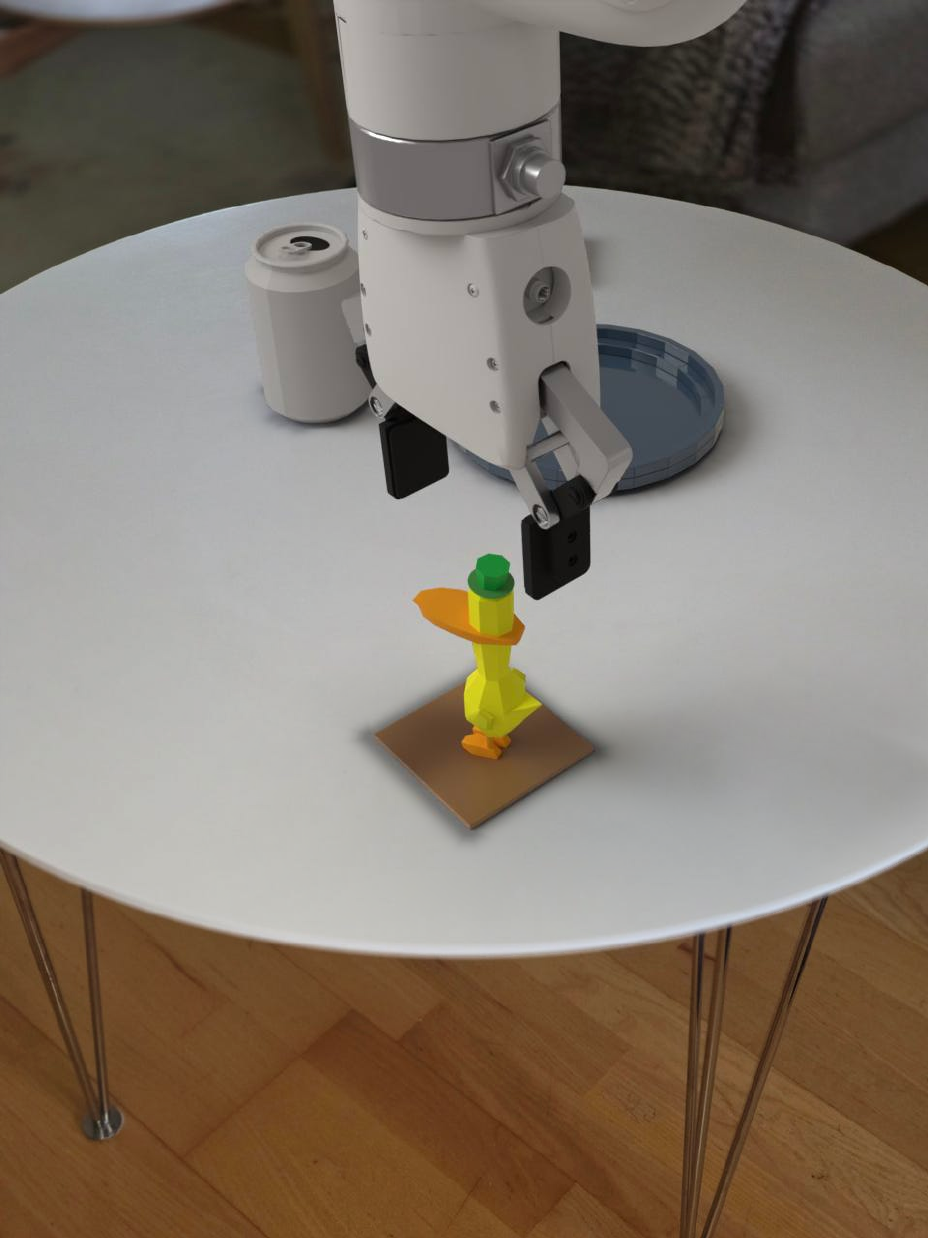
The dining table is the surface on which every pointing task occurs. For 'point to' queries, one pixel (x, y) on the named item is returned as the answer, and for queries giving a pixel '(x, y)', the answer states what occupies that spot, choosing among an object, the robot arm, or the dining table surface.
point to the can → (306, 321)
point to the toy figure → (485, 651)
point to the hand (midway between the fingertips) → (485, 532)
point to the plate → (647, 406)
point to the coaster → (476, 781)
